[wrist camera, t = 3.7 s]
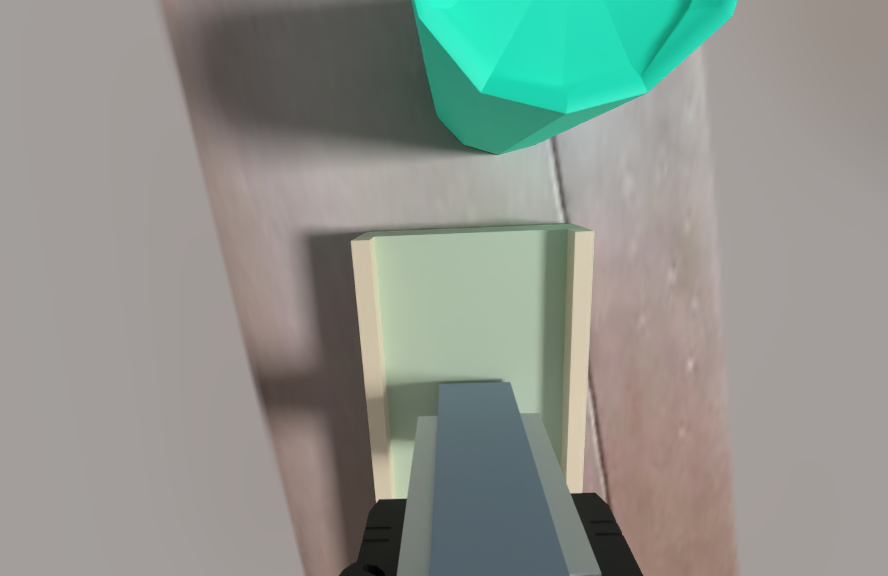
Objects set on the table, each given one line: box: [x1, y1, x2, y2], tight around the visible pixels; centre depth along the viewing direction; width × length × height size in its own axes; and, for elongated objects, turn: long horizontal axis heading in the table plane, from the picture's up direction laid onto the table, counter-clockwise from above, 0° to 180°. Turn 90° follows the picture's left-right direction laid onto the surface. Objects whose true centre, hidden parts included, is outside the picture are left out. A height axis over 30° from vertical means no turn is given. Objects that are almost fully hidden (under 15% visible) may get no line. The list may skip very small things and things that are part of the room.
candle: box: [411, 0, 738, 155], centre depth 11 cm, size 6×6×12 cm
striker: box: [429, 382, 570, 576], centre depth 11 cm, size 3×3×15 cm
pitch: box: [351, 224, 595, 503], centre depth 20 cm, size 25×9×3 cm, turn 2°
